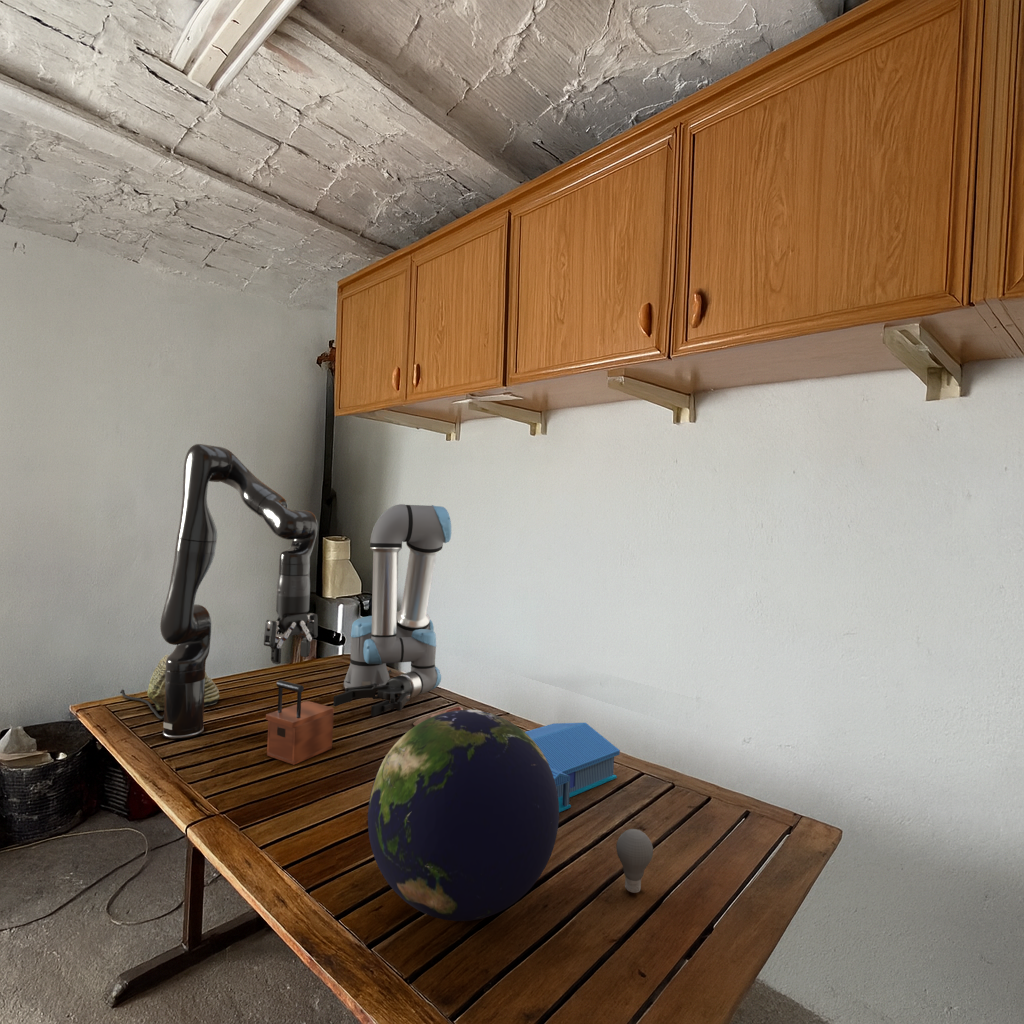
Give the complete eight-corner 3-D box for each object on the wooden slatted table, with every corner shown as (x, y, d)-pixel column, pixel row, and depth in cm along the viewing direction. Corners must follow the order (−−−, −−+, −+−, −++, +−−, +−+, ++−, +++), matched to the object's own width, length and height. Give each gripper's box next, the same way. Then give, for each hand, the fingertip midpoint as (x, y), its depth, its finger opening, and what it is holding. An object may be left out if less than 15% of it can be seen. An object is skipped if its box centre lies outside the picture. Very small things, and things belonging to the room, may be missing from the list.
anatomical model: (409, 713, 175) (423, 701, 186) (408, 727, 175) (423, 714, 186) (455, 719, 172) (467, 706, 184) (455, 733, 172) (466, 719, 184)
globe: (322, 932, 92) (330, 728, 92) (425, 835, 120) (432, 678, 119) (512, 1001, 81) (522, 769, 81) (577, 877, 109) (585, 703, 108)
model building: (501, 837, 120) (504, 785, 120) (427, 790, 139) (429, 744, 138) (628, 782, 147) (630, 739, 147) (552, 748, 165) (553, 710, 165)
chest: (294, 765, 149) (295, 727, 149) (266, 755, 153) (268, 718, 153) (332, 748, 159) (333, 713, 159) (305, 740, 164) (307, 705, 164)
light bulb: (610, 879, 108) (613, 822, 108) (644, 879, 109) (647, 822, 109) (619, 902, 102) (622, 840, 102) (655, 901, 103) (658, 840, 103)
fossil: (144, 707, 182) (145, 655, 182) (212, 696, 194) (213, 647, 194) (151, 716, 175) (153, 662, 175) (221, 703, 188) (223, 653, 188)
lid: (292, 728, 148) (294, 689, 148) (265, 719, 152) (266, 682, 152) (333, 712, 159) (335, 676, 159) (307, 705, 164) (308, 670, 164)
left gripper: (280, 598, 144) (277, 668, 144) (326, 591, 157) (324, 656, 157) (258, 594, 148) (255, 663, 148) (305, 588, 160) (302, 652, 161)
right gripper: (436, 708, 184) (388, 729, 166) (370, 692, 196) (319, 710, 178) (437, 682, 184) (389, 701, 165) (371, 668, 196) (320, 684, 178)
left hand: (290, 659), depth 152 cm, fingers open, 8 cm apart
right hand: (352, 706), depth 172 cm, fingers open, 13 cm apart
